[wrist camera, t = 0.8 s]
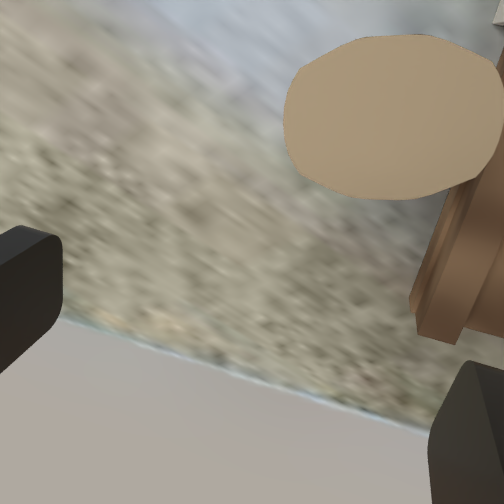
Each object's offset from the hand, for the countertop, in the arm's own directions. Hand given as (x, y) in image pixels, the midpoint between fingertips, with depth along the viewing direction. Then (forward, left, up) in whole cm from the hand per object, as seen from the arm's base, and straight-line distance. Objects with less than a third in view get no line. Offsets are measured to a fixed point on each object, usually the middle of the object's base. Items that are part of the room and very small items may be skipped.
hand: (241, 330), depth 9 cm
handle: (-3, +2, -23) cm, 23 cm away
